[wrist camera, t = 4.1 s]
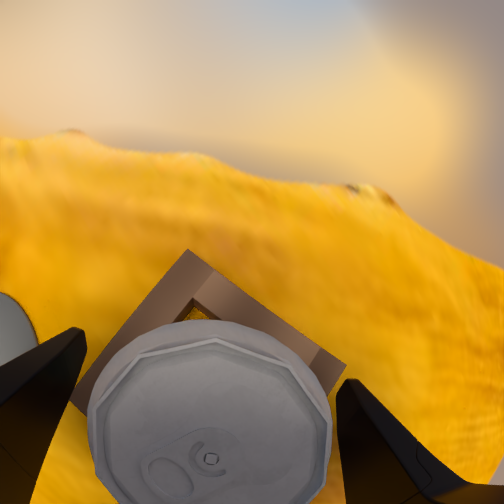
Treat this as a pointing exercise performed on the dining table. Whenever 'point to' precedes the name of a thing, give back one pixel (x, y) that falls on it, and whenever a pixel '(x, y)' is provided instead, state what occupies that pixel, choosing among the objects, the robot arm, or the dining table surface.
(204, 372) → the beer can
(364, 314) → the dining table surface
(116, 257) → the dining table surface
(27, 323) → the coaster
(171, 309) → the socket block
